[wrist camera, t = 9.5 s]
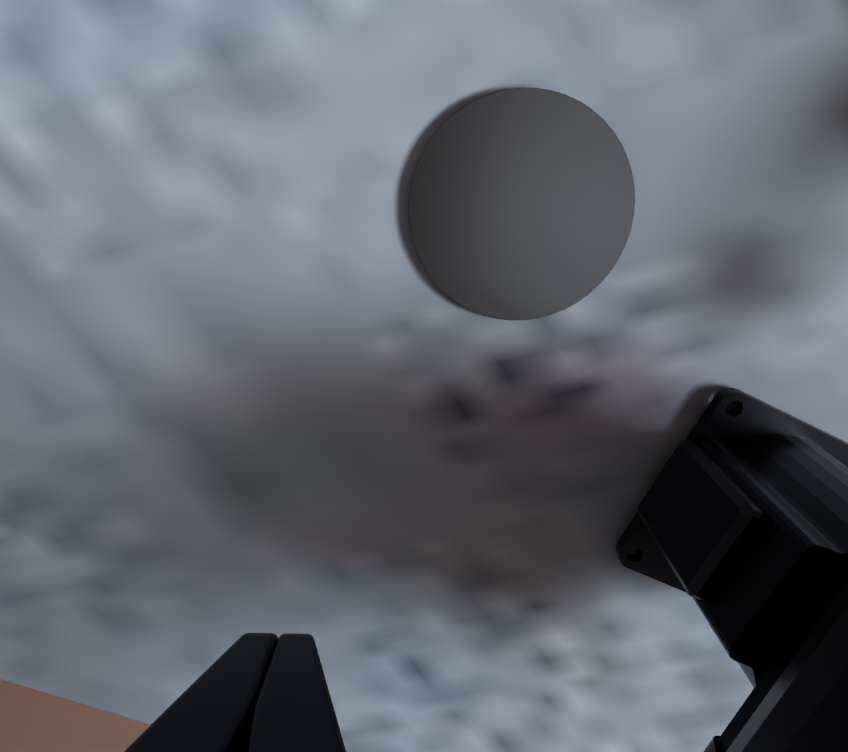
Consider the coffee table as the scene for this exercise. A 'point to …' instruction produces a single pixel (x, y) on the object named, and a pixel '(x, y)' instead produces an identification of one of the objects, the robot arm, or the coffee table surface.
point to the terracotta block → (59, 724)
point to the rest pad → (521, 204)
